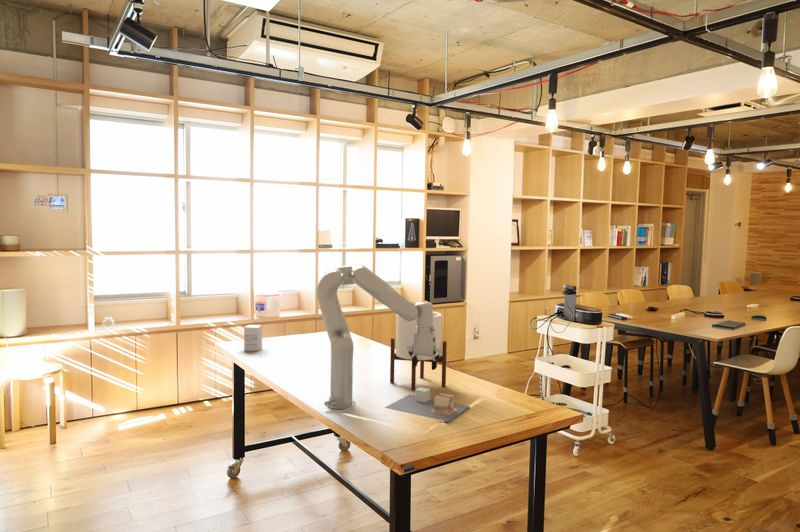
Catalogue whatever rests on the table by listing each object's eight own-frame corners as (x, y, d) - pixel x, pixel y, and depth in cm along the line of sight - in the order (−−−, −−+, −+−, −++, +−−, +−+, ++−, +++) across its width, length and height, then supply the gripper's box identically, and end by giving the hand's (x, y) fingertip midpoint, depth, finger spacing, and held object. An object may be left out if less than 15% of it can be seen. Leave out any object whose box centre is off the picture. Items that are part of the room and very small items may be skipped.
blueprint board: (447, 423, 218) (447, 421, 218) (384, 409, 233) (384, 407, 233) (469, 408, 237) (469, 406, 237) (409, 396, 252) (409, 394, 252)
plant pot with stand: (412, 394, 256) (413, 318, 254) (386, 382, 275) (387, 312, 272) (449, 387, 269) (451, 315, 266) (422, 376, 287) (424, 309, 285)
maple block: (447, 413, 227) (447, 399, 227) (434, 410, 230) (434, 396, 230) (453, 409, 232) (453, 395, 232) (440, 406, 235) (440, 393, 235)
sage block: (425, 402, 241) (425, 391, 241) (415, 400, 243) (415, 389, 243) (430, 399, 245) (430, 388, 245) (420, 397, 248) (420, 386, 247)
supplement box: (248, 347, 347) (248, 324, 346) (262, 348, 347) (262, 324, 346) (243, 351, 338) (243, 327, 337) (258, 351, 338) (258, 327, 337)
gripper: (445, 330, 241) (445, 368, 242) (411, 326, 250) (411, 363, 251) (438, 333, 234) (437, 372, 236) (403, 329, 243) (403, 367, 244)
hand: (424, 367), depth 243 cm, fingers open, 9 cm apart
